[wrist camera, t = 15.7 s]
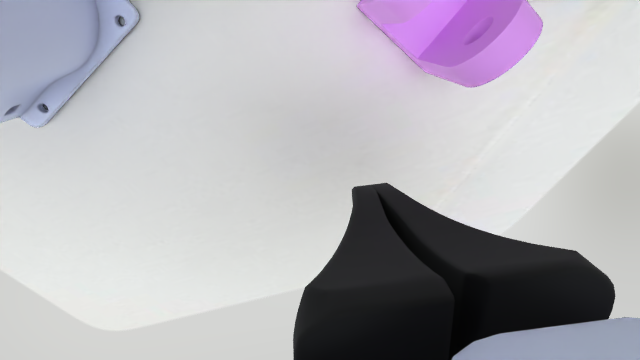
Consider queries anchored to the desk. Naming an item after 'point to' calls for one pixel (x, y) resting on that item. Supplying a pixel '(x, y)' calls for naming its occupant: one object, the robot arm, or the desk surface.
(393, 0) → the bracket
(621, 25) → the desk surface
